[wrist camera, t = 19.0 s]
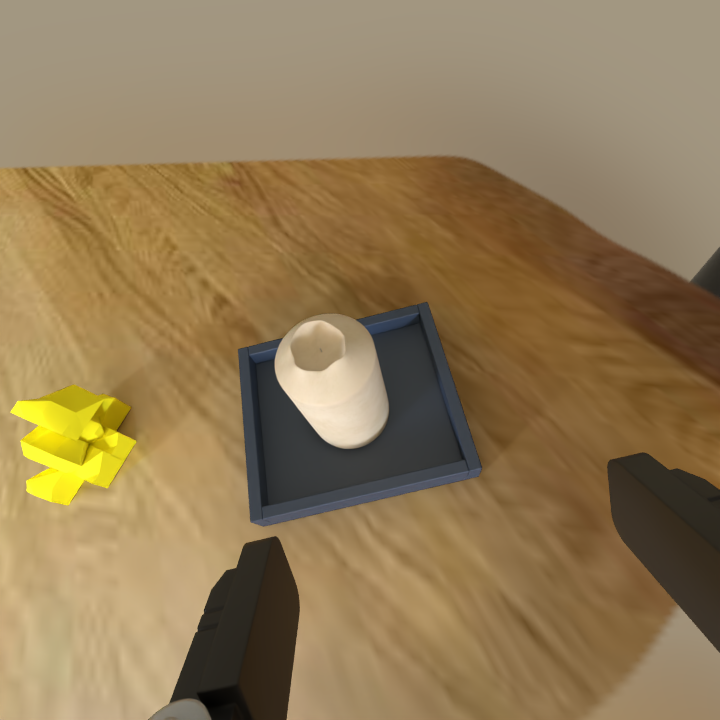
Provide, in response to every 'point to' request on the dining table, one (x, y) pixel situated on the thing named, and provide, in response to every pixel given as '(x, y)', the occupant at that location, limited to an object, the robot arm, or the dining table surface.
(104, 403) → the crumpled paper
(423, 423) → the tray
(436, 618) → the dining table surface
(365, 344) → the candle
